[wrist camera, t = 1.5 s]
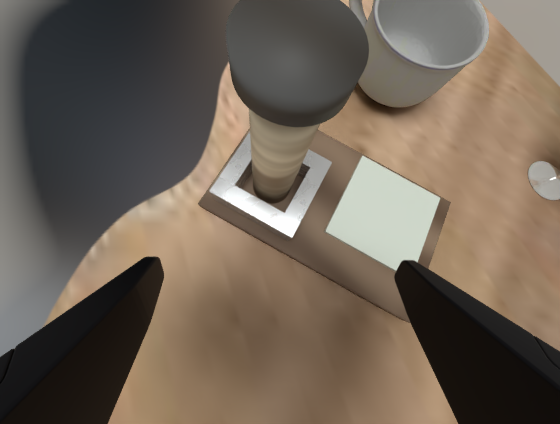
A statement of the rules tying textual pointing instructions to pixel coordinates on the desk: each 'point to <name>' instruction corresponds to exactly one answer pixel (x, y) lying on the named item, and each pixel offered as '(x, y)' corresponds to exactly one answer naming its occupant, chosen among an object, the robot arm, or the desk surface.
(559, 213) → the desk surface
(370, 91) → the teacup
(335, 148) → the board
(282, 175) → the peg
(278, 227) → the collar
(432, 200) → the coaster
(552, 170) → the wineglass
